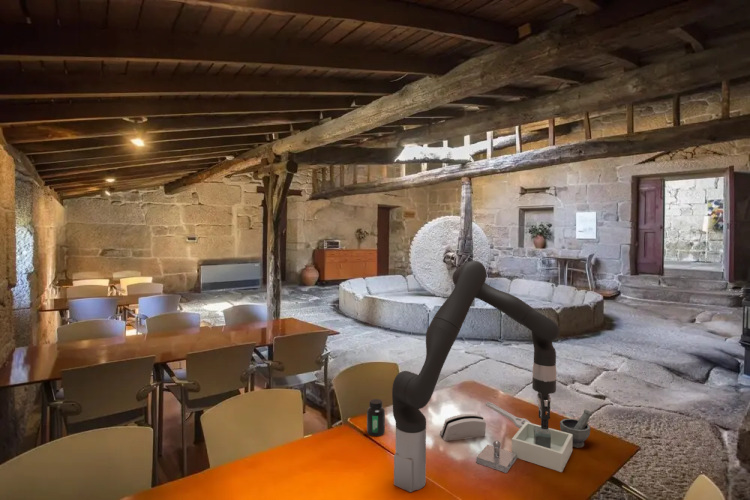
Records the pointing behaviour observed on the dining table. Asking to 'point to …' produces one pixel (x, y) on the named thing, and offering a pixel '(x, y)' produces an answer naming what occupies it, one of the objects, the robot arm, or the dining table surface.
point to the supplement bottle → (375, 418)
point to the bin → (540, 454)
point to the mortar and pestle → (577, 428)
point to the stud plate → (496, 457)
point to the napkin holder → (463, 427)
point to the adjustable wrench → (508, 415)
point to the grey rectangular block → (542, 437)
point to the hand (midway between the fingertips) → (543, 423)
